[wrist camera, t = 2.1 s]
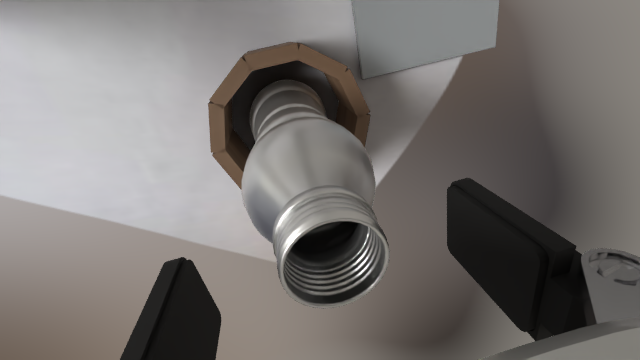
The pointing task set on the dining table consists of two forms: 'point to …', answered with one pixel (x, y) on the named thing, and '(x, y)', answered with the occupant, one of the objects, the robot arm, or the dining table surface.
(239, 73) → the ring holder
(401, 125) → the dining table surface
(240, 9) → the dining table surface
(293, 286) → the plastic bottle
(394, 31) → the rubber mat
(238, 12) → the dining table surface
